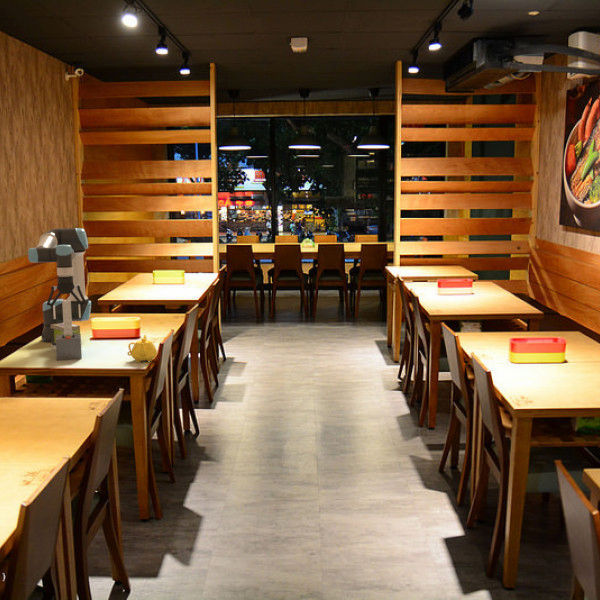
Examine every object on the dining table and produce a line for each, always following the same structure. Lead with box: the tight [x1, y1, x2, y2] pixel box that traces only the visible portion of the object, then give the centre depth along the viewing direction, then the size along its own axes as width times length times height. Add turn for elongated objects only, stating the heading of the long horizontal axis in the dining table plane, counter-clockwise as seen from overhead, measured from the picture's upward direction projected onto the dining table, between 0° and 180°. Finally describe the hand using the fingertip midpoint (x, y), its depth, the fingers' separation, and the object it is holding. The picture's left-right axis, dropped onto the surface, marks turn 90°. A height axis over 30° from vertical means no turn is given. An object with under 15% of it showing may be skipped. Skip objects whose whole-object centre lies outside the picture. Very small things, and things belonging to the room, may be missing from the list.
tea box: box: [50, 323, 81, 351], centre depth 377 cm, size 15×10×15 cm, turn 45°
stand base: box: [55, 333, 83, 362], centre depth 359 cm, size 16×16×13 cm
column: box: [62, 299, 73, 338], centre depth 357 cm, size 6×4×24 cm
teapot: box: [126, 334, 158, 363], centre depth 357 cm, size 20×15×12 cm
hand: (67, 318), depth 357 cm, fingers open, 11 cm apart
